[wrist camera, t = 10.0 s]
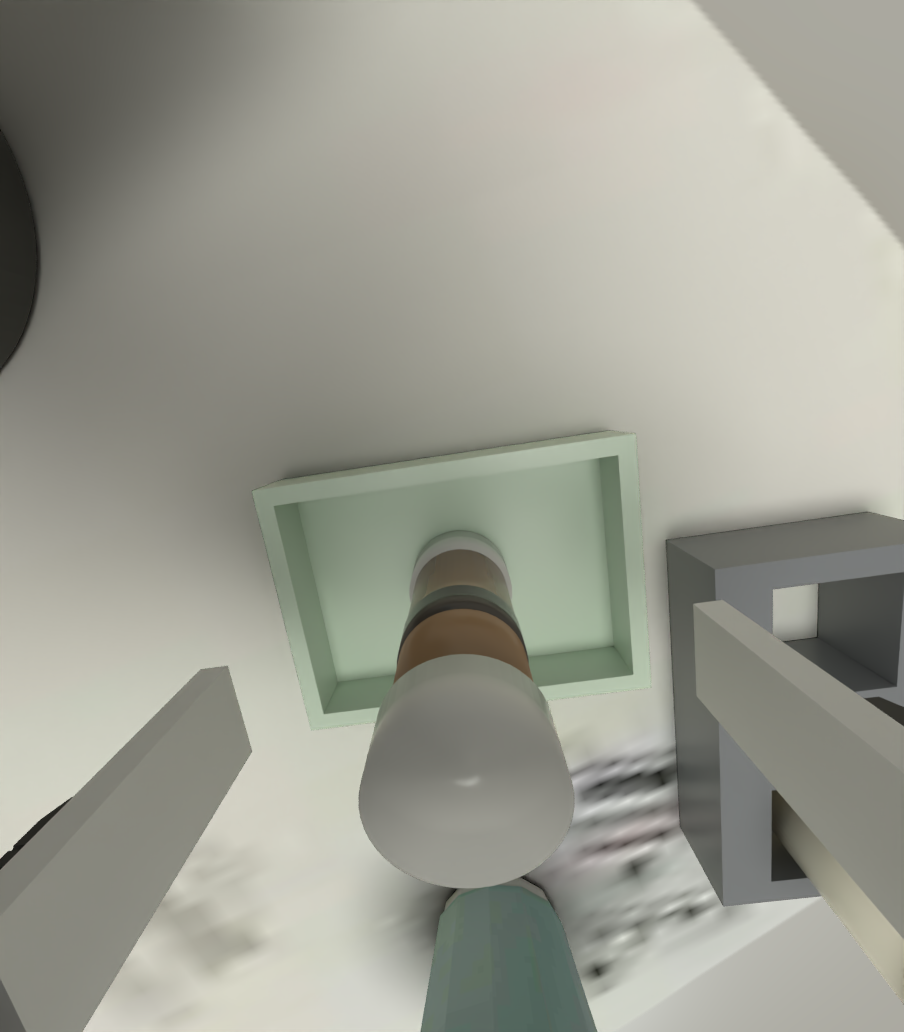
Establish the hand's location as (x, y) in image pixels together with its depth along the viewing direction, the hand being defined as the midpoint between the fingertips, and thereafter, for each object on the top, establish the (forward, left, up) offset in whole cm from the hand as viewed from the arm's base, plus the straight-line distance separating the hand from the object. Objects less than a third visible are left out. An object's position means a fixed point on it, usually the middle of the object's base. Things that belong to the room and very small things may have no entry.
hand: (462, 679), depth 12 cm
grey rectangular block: (+8, +14, -9) cm, 18 cm away
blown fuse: (0, 0, -8) cm, 8 cm away
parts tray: (0, 0, -9) cm, 9 cm away
